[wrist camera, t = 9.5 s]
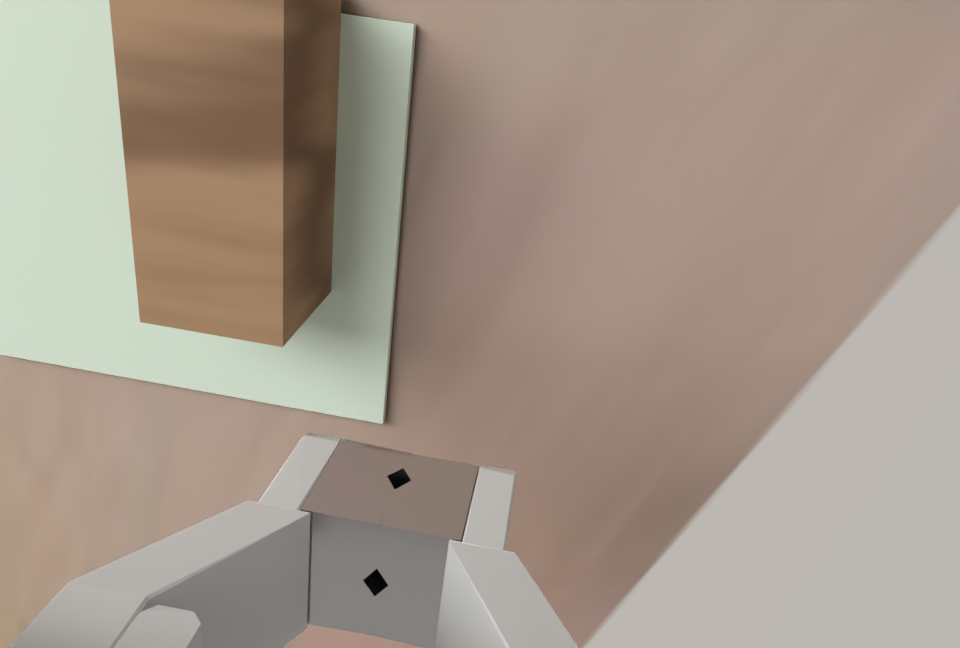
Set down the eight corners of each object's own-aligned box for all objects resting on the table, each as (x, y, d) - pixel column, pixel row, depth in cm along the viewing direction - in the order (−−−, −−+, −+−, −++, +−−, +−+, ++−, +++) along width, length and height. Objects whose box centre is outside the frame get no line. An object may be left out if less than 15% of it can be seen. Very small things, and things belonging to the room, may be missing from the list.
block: (104, -44, 19) (140, 322, 23) (283, -18, 18) (282, 347, 23) (196, -34, 23) (211, 271, 28) (341, -14, 23) (331, 291, 28)
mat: (-80, -48, 25) (-90, -48, 24) (416, 23, 23) (413, 24, 23) (-2, 349, 31) (-9, 352, 31) (384, 419, 30) (382, 423, 30)
